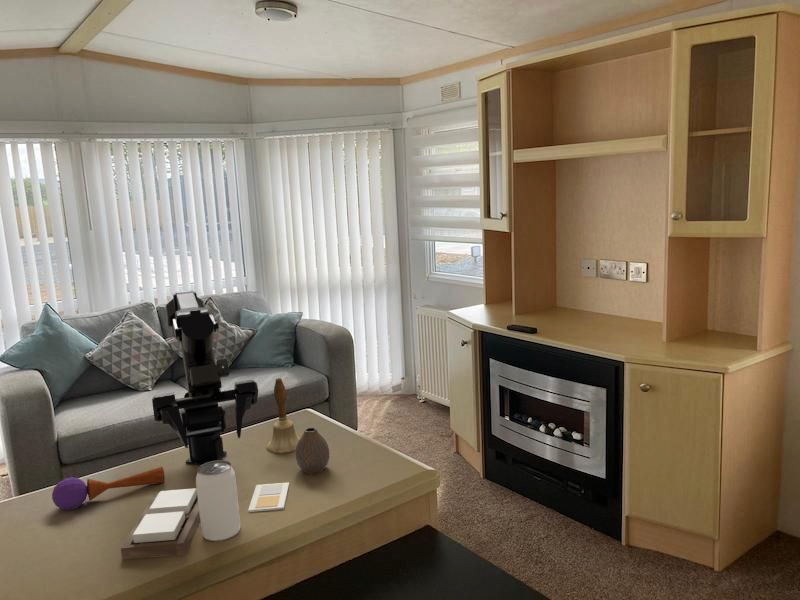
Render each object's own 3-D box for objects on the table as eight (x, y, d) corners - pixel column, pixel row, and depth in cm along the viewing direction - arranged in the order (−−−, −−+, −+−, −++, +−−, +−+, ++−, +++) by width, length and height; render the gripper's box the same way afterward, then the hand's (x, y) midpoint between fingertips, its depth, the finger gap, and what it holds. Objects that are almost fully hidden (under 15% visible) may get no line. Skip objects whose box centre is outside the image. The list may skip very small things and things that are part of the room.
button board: (155, 505, 123) (154, 495, 122) (209, 501, 123) (207, 491, 123) (122, 559, 105) (120, 548, 105) (184, 554, 106) (183, 543, 106)
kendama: (166, 469, 130) (53, 492, 119) (166, 495, 131) (54, 519, 121) (159, 454, 134) (50, 475, 124) (159, 479, 136) (51, 502, 125)
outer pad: (146, 522, 113) (145, 514, 113) (185, 519, 113) (184, 511, 113) (133, 543, 106) (132, 534, 106) (174, 539, 107) (173, 531, 106)
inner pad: (161, 498, 121) (160, 491, 121) (197, 495, 122) (196, 488, 121) (150, 516, 115) (149, 508, 115) (188, 513, 115) (187, 505, 115)
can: (248, 526, 114) (241, 461, 111) (224, 545, 108) (216, 478, 106) (219, 519, 116) (212, 456, 114) (194, 538, 111) (186, 472, 108)
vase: (328, 476, 131) (325, 435, 130) (294, 477, 131) (290, 436, 130) (332, 461, 138) (329, 422, 136) (300, 463, 138) (296, 424, 137)
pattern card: (256, 486, 128) (256, 484, 128) (289, 484, 129) (289, 481, 129) (248, 512, 118) (248, 509, 118) (283, 509, 119) (283, 506, 119)
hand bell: (304, 450, 145) (298, 381, 142) (266, 455, 143) (260, 386, 140) (302, 436, 153) (296, 371, 150) (266, 441, 151) (259, 375, 148)
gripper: (146, 353, 115) (156, 434, 108) (251, 338, 122) (268, 413, 114) (150, 382, 124) (159, 459, 116) (248, 367, 131) (263, 438, 123)
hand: (213, 442), depth 117 cm, fingers open, 9 cm apart
